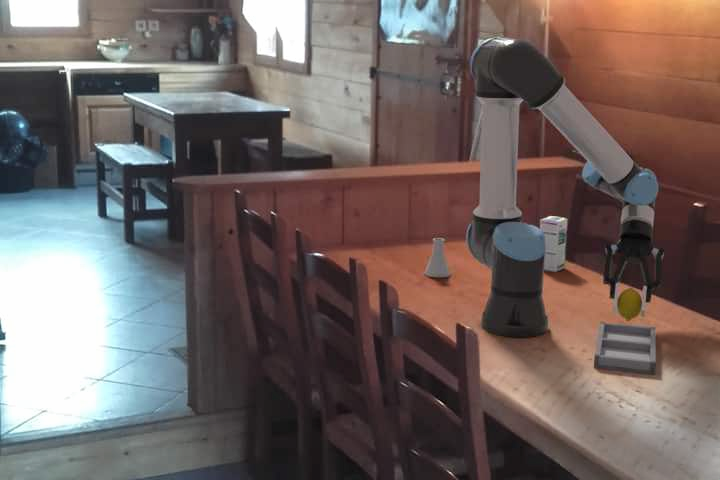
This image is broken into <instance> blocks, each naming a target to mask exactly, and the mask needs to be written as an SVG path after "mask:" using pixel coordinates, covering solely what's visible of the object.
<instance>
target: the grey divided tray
mask: <svg viewBox="0 0 720 480" xmlns="http://www.w3.org/2000/svg"><path fill="white" fill-rule="evenodd" d="M656 345H657V344H656V327H655V326H654V327H653V326H652V327H651V326H645V325H644V326H643V325H635V324H624V323H613V322H605V321H603V322H602V321H600V323H599V327H598V334H597V340H596V346H595V353H594V357H593V358H594V361H593V369H602V370H610V371H611V370H612V371H618V372H628V373H639V374H644V375H645V374H646V375H655V372H656V359H657V358H656V353H657V352H656V348H657V347H656Z"/></svg>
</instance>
